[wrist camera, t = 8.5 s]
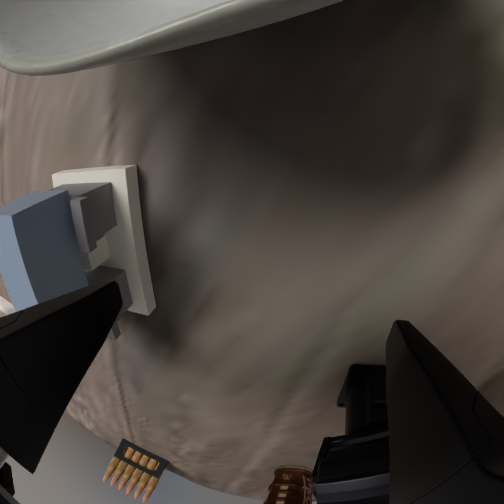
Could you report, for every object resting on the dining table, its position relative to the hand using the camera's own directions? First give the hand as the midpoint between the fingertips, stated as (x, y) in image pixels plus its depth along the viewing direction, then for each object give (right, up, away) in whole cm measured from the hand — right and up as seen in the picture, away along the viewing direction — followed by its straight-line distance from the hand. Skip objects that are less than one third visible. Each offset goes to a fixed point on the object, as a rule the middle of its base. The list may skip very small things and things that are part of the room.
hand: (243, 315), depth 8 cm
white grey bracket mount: (-13, +3, +15) cm, 20 cm away
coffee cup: (+7, -34, +28) cm, 45 cm away
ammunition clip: (-22, -40, +39) cm, 60 cm away
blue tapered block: (-14, +1, +11) cm, 18 cm away
